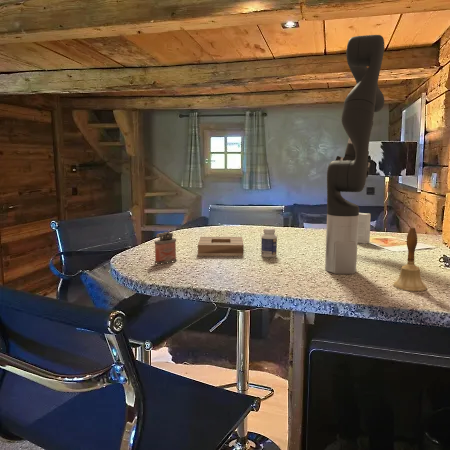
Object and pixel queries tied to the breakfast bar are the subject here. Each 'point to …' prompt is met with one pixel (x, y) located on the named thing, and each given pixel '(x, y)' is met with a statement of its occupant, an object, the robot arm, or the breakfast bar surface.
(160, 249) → the lighter
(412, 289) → the hand bell
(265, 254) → the pill bottle
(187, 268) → the breakfast bar surface
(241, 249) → the socket block
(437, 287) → the breakfast bar surface
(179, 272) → the breakfast bar surface
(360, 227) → the skincare box
